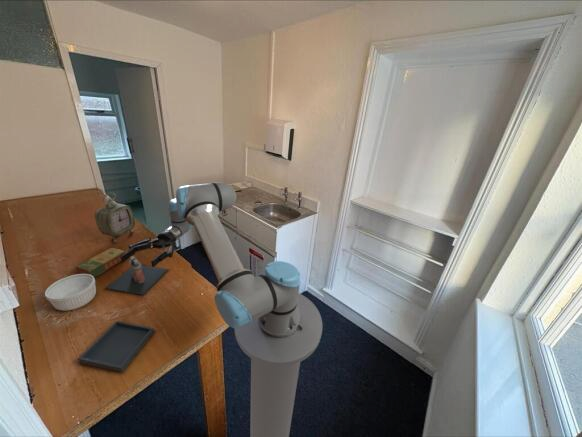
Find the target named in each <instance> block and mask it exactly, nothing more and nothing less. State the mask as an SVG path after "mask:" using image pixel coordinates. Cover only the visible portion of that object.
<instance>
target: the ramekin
mask: <svg viewBox="0 0 582 437" xmlns="http://www.w3.org/2000/svg"><path fill="white" fill-rule="evenodd" d="M96 294H97V286H96V279H95V277H93V276H92V275H90V274H77V273H76V274H72V275H69V276H66V277H63V278H60V279H58V280H57V281H55V282H53V283H52V284H50V285H49V286H48V287H47V288H46V290H45V291H44V296H45V298H46V300H47V301H49V302H50V304H51V305H52V306H53V307H54V309H56V310H58V311H64V312H65V311H73V310H77V309H79V308H82V307H84V306H86V305H87V304H89V303H90V302H91V301H92V300H93V299H94V298H95V297H96Z"/></svg>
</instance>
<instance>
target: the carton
mask: <svg viewBox="0 0 582 437" xmlns="http://www.w3.org/2000/svg"><path fill="white" fill-rule="evenodd" d="M125 252H126V251H125V250H123V249H119V248H116V247H109V248H107V249H105V250H104V251H101V252H100V253H98V254H96V255H94V256H92V257H90V258H88V259H86V260H85V261H82V262H81V263H78V264H76V265H75V266H74V267H75V271H76V274H90V275H92V276H93V277H94V278H96V277H97V276H99V275H101V274H103V273H105V272H106V271H107V270H109V269H111V268H113V267H114V266H115V265H117V264H119V263H121V262H122V260H121V256H122V255H123V254H125Z"/></svg>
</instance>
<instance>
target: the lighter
mask: <svg viewBox="0 0 582 437" xmlns="http://www.w3.org/2000/svg"><path fill="white" fill-rule="evenodd" d="M128 263H129V266H130V268H131V271H132V273H133V278H134V280H135V281H136V282H137V283H139V284H140V283H143V282H144V281H145V279H144V276H143V273H142V269H141V268H142V267H141V265H142V263H141V261H139V259H137V257H136V256H134V255H133V256H131V257H130V260H129V261H128Z"/></svg>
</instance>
